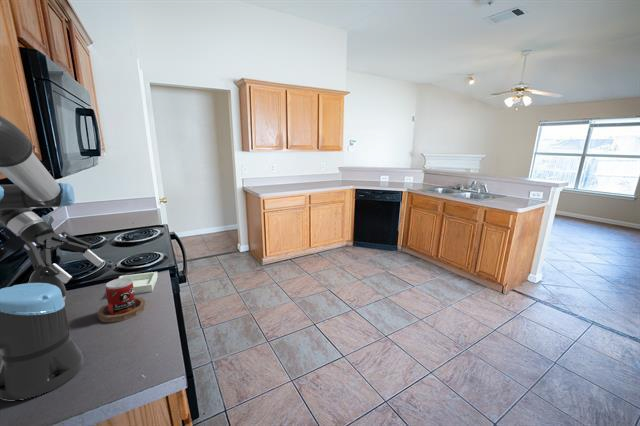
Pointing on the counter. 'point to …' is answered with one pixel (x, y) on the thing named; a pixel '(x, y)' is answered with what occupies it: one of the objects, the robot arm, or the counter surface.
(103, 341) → the counter surface
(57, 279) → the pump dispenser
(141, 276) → the tray
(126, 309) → the canned food
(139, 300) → the collar ring
